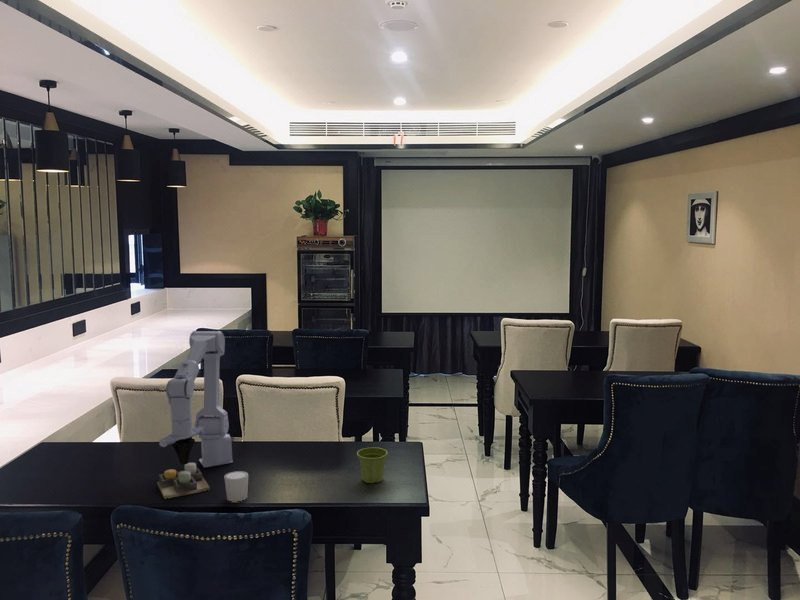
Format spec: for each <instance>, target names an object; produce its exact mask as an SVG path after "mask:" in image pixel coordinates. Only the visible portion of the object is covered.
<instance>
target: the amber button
mask: <svg viewBox="0 0 800 600" xmlns="http://www.w3.org/2000/svg"><path fill="white" fill-rule="evenodd" d="M176 472H177V470H176V469H170V468H169V469H167V470H164V473H163V474H164V476H165V480H166V479H171V478H176Z"/></svg>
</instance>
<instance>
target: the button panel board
mask: <svg viewBox="0 0 800 600" xmlns="http://www.w3.org/2000/svg"><path fill="white" fill-rule="evenodd" d="M183 471H185V469H184V470H180V471H176V478H171V479H166V480H165V476H164V473H162V474H158V477H159V481H157V483H156V484H157V487H158V490H159V491H160V493H161V495H162V498H163V499H164V500H167V498H168V499H172V498H177V497H182V496H188V495H192V494H197V493H202V491H203V492H208V491H211V487H210V485H209V484H208V482H207V481H206V480H205V478H204V476H203V473H202V471H201V470H200V468H199V467H196V471H197V474H193V475H191V483H188V484H182V485H180V484H179V473H180V472H183ZM207 490H208V491H207Z"/></svg>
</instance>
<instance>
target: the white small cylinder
mask: <svg viewBox="0 0 800 600" xmlns="http://www.w3.org/2000/svg"><path fill="white" fill-rule="evenodd" d="M196 468H197V462H188V464H185V465H184V470H185V471H189V472H191V475H193V474H197V471H196Z"/></svg>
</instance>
